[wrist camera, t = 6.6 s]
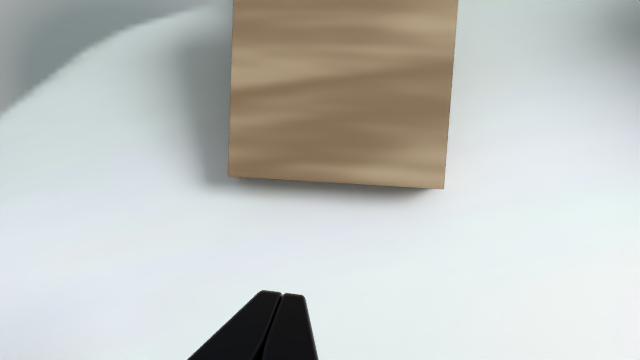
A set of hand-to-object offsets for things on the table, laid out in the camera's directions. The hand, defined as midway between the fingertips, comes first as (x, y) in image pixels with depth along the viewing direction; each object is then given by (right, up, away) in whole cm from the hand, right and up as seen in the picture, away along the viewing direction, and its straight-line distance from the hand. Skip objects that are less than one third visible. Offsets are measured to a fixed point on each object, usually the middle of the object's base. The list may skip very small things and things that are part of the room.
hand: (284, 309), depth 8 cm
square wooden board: (+1, +2, +13) cm, 13 cm away
